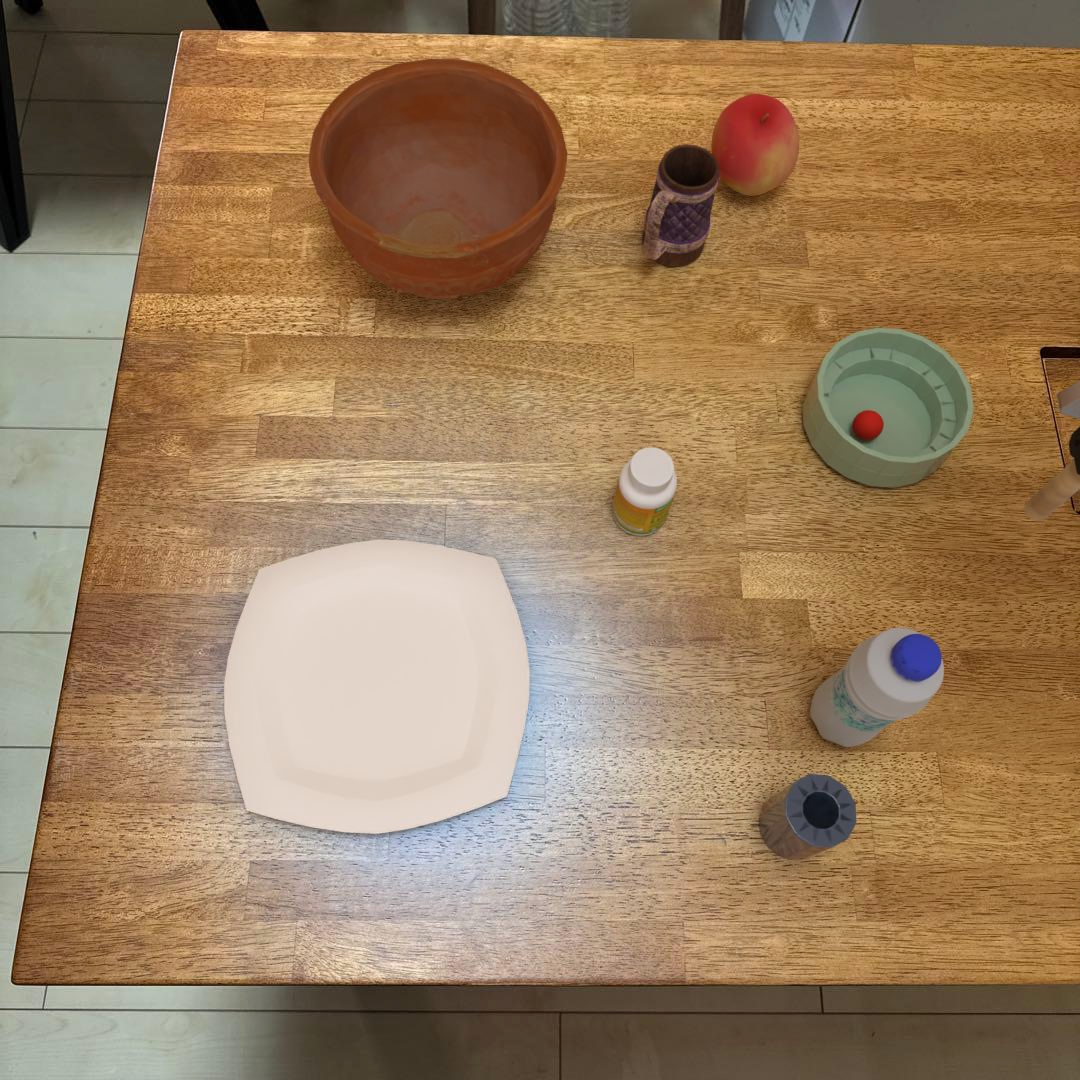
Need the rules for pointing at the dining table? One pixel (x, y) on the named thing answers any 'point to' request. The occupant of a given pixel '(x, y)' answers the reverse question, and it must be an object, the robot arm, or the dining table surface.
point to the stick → (1053, 494)
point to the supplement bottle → (645, 492)
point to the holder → (808, 817)
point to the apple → (755, 144)
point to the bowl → (439, 174)
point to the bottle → (878, 686)
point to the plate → (376, 687)
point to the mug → (680, 206)
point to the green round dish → (887, 406)
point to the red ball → (867, 425)
